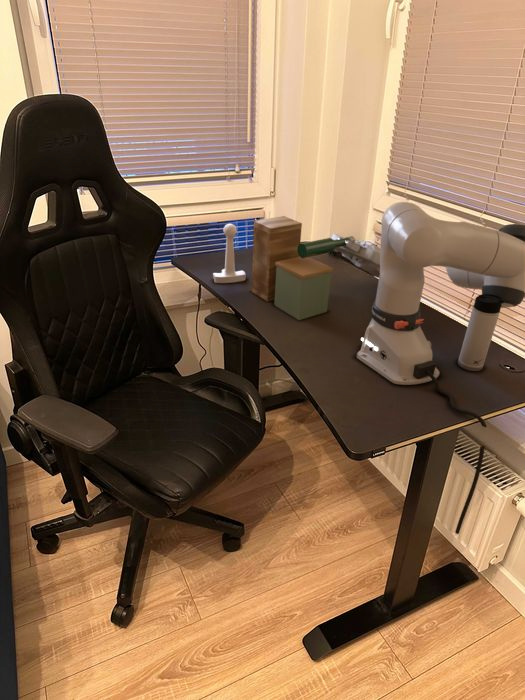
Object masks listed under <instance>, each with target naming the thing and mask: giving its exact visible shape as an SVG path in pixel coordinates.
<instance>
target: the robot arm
mask: <svg viewBox="0 0 525 700" xmlns="http://www.w3.org/2000/svg"><path fill="white" fill-rule="evenodd" d="M380 222H381V223H380V224H381V226H380V227H381V231H380V233H381V234H380V247H379V246H377V245H375V244H374V243H373V242H371V241H368V240H367V241H364V240H357V239H355V243H352V242H351V241H348V240H346V241H345V243H344V245H345V246H342V247H337V248H335V249H334V250H336V251H337V252H339V253H341V256H342V257H344V259H347V260H349V261H350V262H351V263H352V264H353V265H354V266H356V267H357V268H359V269H361V270H362V271H365V272H368V273H369V274H370V275H372V276H373V277H375V278H378V282H377V287H376V288H377V289H376V294H375V300H374V301H373V303H372V306H371V315H370V316H371V320H370V322H369V324H368V326H367V327H366V329H365V333H364V336H363V337H361V338H360V341H362V344H361V347H360V350H358V352H357V353H356V359H357V360H359V361H360V362H362V363H363V364H364V365H367V366H368V367H369V368H370V369H372V370H373V371H375V372H377V374H379V375H380V376H382V377H384V378H385V379H387V381H389V382H390V383H392V384H395V385H401V386H411V385H412V386H413V385H419V384H425V383H429V382H431V381H433V383H434V386H435V389H436V392H438V393H439V394H441V395H443V396H445V397H447V398H448V401H449V406H450V407H451V409H452V410H454V411H456V412H458V413H461V414H464V415H468V416H471V417H473V418H475V419H476V420H478V421H479V423H480V424H481V427H483V428H487V424H486V421H485V420H484V419H483V418H482V417H481V416H480V415H479V414H478V413H476V412H474V411H471V410H467V409H463V408H460V407H459V406H457V405H456V404H455V403H454V400H455V399H454V397H453V396H452V394H450V393H449V392H447V391H445V390H443V389H442V388H441V387H440V384H439V381H438V379H437V378H438V377H439V376H440V370H439V369H438V368H437V363H436V362H434V361H433V350H432V342H431V341H430V340H427V338H426V336H425V333H424V331H423V330H422V327H421V325H422V324H424V320H425V318H421V310H420V309H421V308H420V304H421V300H422V296H423V291H424V286H425V270H424V269H425V268H428V267H430V266H431V267H445V270H446V273H447V276H448V278H449V280H450V281H451V283H453V284H454V285H455V286H457V287H459V288H464V289H468V290H469V289H470V290H481V295H482V294H492V295H497V296H500V297H502V298H504V299H505V302H504V303H503V304H502V306H501V308H500V309H508V308H514V307H517V306H518V305H519V306H520V305H521V303H522V302H523V300H524V298H525V224H523V223H509V224H505V225H503V226H502V227H500V228H499V229H498V230H497V229H494V228H491V227H486V226H482V225H479V224H474V223H470V222H468V221H467V222H466V221H449V220H442V219H438V218H436V217H434V216H432V215H430V214H428V213H427V212H425V210H424V209H423V208H421V207H420V206H419V205H417V204H415V203H413V202H408V201H397V202H394V203H392V204H390V205H389V206H388V207H387V208H386V209H385V210H384V212H383V214H382V217H381V221H380ZM330 238H331V239H333V240H337V239H342V238H345V237H344V236H342V235H339V234H336V233H333V234H332V235H331V236H330ZM485 448H486V445H483V446H480V447H479V452H478V459H477V464H476V470H475V473H474V477H473V479H472V483H471V487H470V488H469V489H470V490H469V491H468V494H467V497H466V499H465V502H464V506H463V508H462V511H461V514H460V516H459V519H458V522H457V525H456V528H455V534H456V535H459V534H460V533H461V532H460V531H461V528H462V525H463V522H464V519H465V517H466V514H467V511H468V509H469V506H470V503H471V501H472V498H473V496H474V494H475V491H476V488H477V485H478V481H479V478H480V473H481V470H482V465H483V460H484V455H485Z"/></svg>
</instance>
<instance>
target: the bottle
mask: <svg viewBox="0 0 525 700" xmlns="http://www.w3.org/2000/svg"><path fill="white" fill-rule="evenodd" d="M346 240H348V241H351V242H352V243H355V240H356V238H355V237H354V236H353V235H349V236H345V237H344V238H342V239H337V240H333V239H331V237H326V238H321V239H315V240H311V241H307V242H300V244H299V245H298V249H297V251H298V254H299V257H301V258H307V257H310V258H312V257H315V256H321V255H324V254H329V253H330V254H331V253H333V252H334V250H336V249H335V248H337V247H342V246H345V245H344V243H345V241H346Z"/></svg>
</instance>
